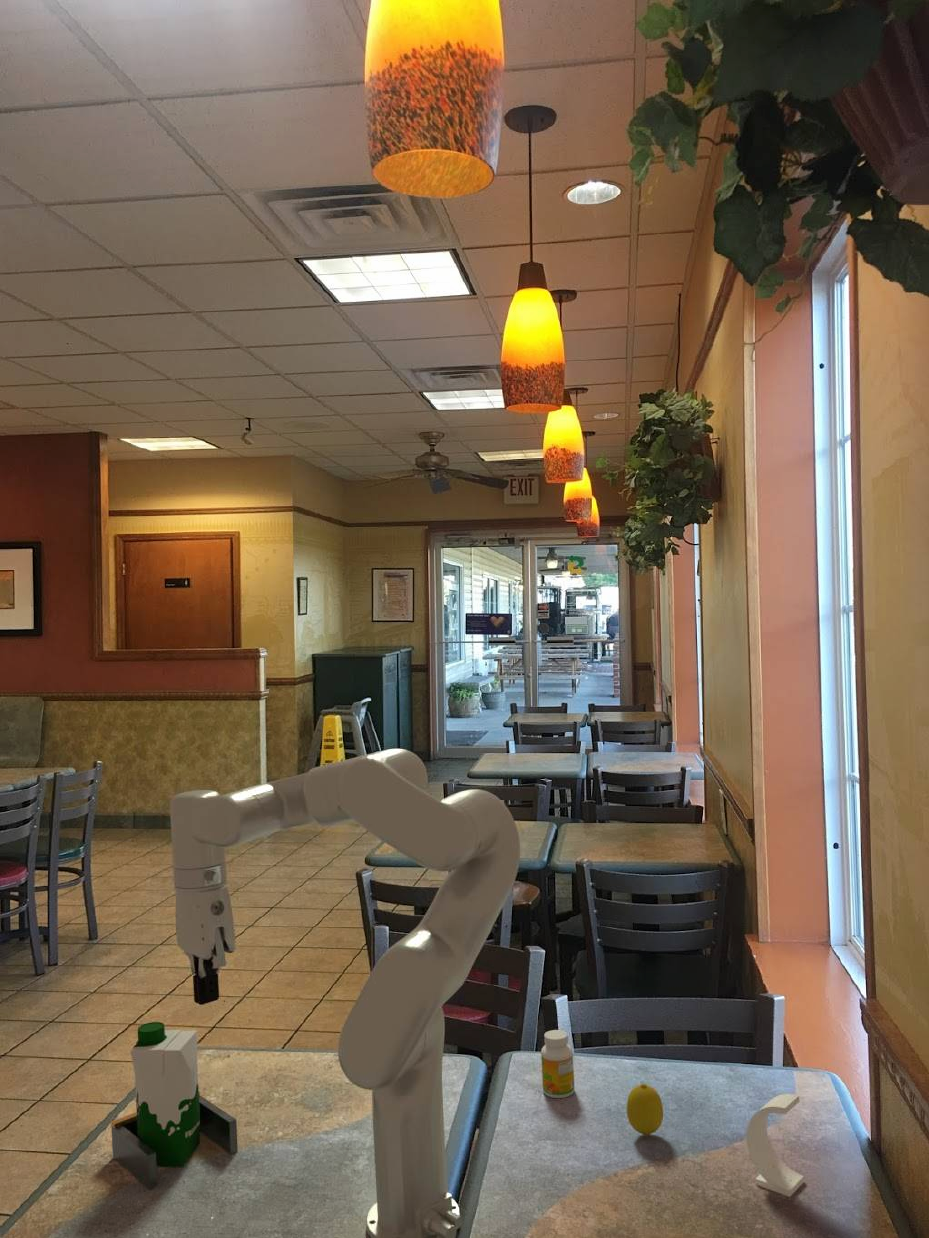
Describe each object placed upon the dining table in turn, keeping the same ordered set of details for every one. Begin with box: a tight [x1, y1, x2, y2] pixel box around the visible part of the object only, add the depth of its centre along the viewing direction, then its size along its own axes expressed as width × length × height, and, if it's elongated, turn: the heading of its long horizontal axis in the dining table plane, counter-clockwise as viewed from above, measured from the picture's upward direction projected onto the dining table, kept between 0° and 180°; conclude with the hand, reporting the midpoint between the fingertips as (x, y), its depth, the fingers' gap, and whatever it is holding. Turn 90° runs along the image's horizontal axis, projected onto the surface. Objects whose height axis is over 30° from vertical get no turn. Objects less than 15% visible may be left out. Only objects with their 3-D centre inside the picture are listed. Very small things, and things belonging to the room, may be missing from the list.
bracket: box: [110, 1091, 239, 1191], centre depth 154 cm, size 13×14×6 cm
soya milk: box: [130, 1021, 201, 1168], centre depth 154 cm, size 9×9×20 cm
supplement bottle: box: [540, 1029, 575, 1099], centre depth 169 cm, size 5×5×10 cm
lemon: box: [626, 1083, 664, 1138], centre depth 152 cm, size 6×6×8 cm
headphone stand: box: [745, 1093, 805, 1198], centre depth 138 cm, size 5×6×12 cm
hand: (206, 1000), depth 145 cm, fingers closed
